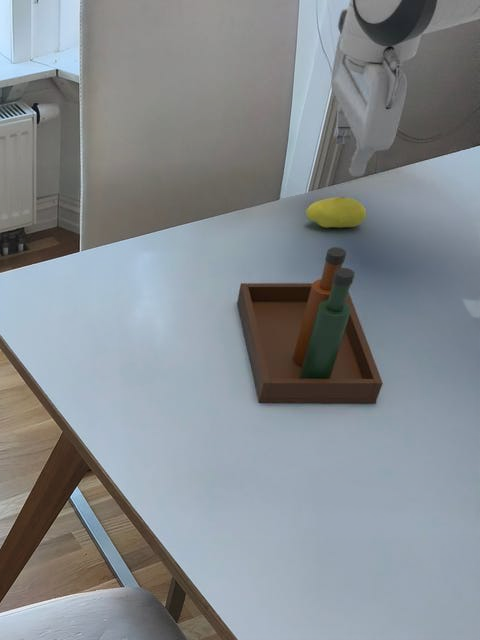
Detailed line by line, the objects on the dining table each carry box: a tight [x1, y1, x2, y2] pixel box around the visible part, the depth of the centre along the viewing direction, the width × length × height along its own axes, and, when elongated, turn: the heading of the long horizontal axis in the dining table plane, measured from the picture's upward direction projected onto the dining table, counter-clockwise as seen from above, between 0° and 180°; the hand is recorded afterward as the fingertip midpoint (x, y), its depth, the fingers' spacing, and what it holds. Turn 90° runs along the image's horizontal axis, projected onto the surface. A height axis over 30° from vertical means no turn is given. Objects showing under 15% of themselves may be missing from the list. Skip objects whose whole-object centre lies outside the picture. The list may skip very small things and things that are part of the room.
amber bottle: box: [293, 246, 347, 366], centre depth 96 cm, size 3×3×13 cm
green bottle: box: [299, 267, 356, 379], centre depth 93 cm, size 3×3×13 cm
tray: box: [236, 282, 384, 404], centre depth 102 cm, size 13×21×3 cm, turn 177°
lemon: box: [305, 196, 367, 229], centre depth 120 cm, size 4×8×4 cm, turn 79°
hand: (347, 157), depth 114 cm, fingers open, 8 cm apart
